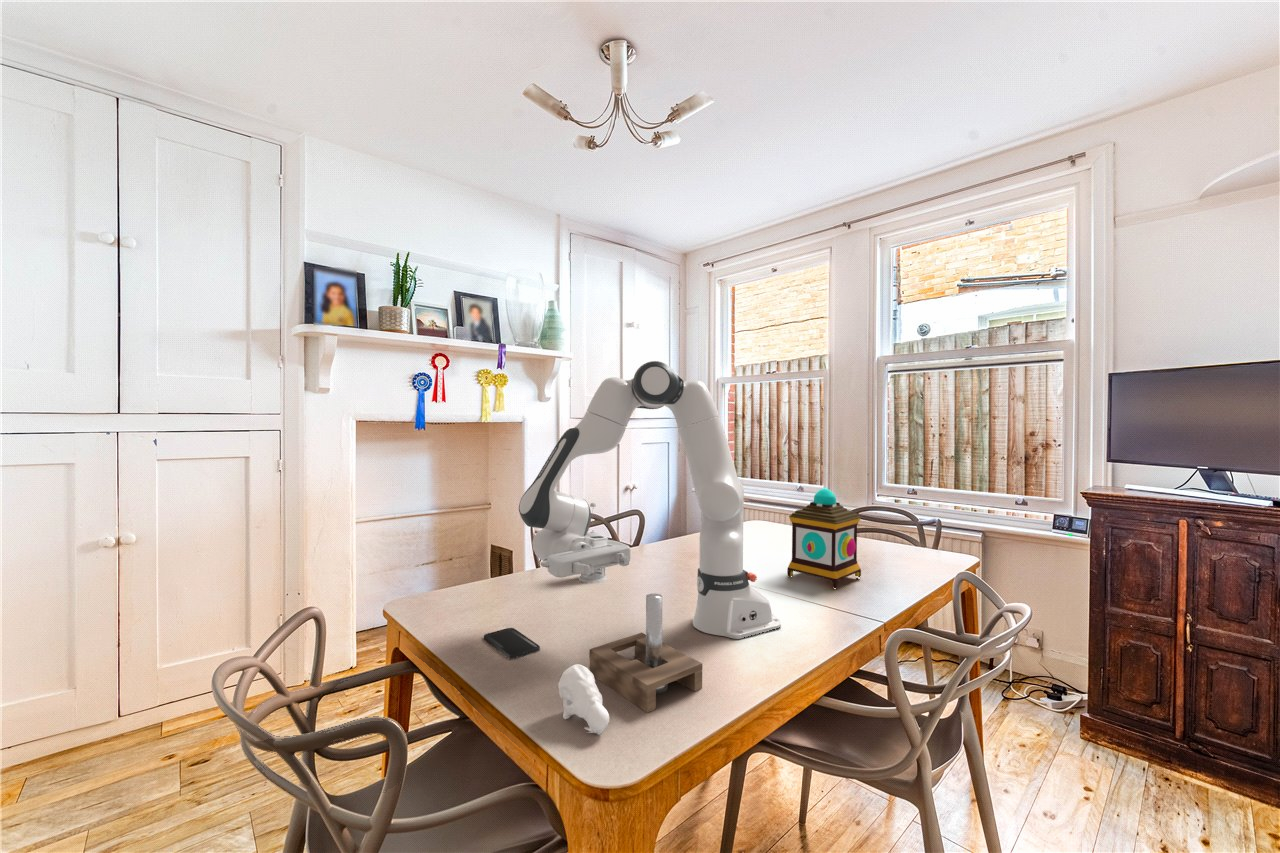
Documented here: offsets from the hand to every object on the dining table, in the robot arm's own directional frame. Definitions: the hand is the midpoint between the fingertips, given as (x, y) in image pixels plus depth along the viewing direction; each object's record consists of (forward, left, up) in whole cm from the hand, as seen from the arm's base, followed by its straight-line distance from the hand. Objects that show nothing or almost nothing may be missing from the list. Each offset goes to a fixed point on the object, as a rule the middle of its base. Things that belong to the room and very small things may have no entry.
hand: (609, 566), depth 117 cm
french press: (-11, -58, -21) cm, 62 cm away
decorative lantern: (-83, -35, -21) cm, 93 cm away
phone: (+20, -15, -21) cm, 33 cm away
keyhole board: (-4, +11, -21) cm, 24 cm away
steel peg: (-5, +14, -21) cm, 25 cm away
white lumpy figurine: (+10, +22, -21) cm, 32 cm away
